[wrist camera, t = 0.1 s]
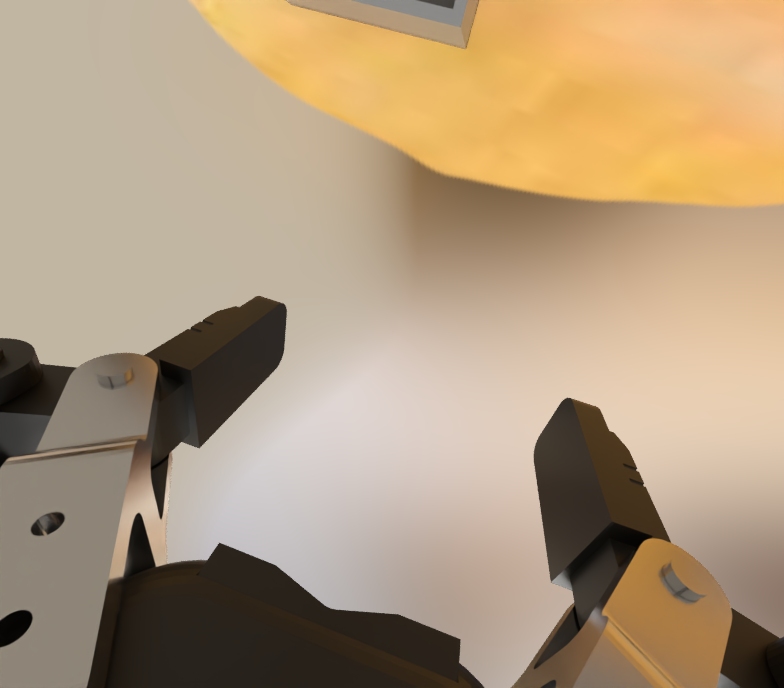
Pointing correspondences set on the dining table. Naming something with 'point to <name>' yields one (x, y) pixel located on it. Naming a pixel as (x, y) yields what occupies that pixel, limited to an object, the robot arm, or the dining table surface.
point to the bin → (406, 16)
